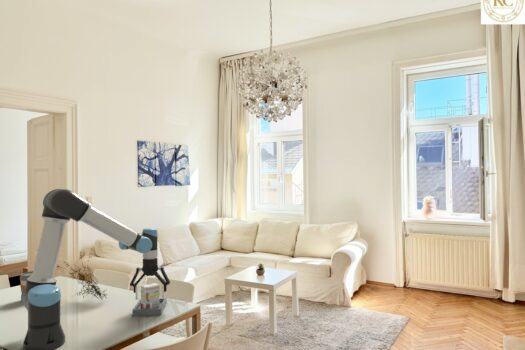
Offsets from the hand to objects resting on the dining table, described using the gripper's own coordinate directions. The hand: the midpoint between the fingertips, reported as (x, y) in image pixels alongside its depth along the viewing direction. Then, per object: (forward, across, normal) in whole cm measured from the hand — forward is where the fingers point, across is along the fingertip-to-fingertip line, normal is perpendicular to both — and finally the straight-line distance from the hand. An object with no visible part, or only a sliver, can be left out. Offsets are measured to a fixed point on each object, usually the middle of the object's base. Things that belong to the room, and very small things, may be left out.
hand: (150, 298), depth 202 cm
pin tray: (+6, 0, 0) cm, 6 cm away
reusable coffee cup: (+6, +71, -26) cm, 76 cm away
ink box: (+5, 0, 0) cm, 5 cm away
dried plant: (+6, +43, -21) cm, 48 cm away
